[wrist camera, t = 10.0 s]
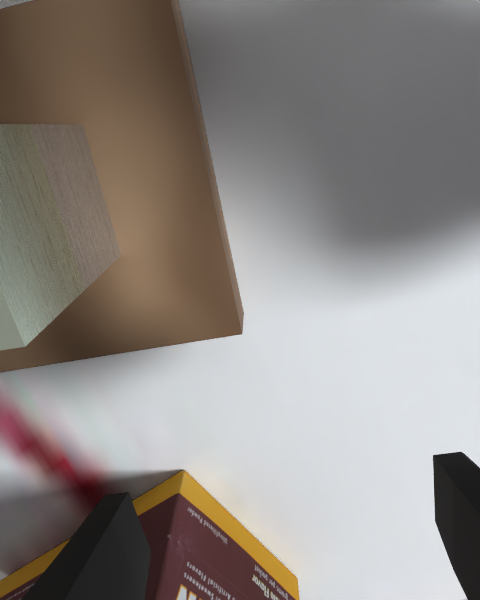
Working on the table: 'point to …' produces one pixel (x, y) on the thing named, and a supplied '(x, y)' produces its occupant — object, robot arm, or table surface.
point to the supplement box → (188, 551)
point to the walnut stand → (126, 172)
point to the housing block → (48, 226)
